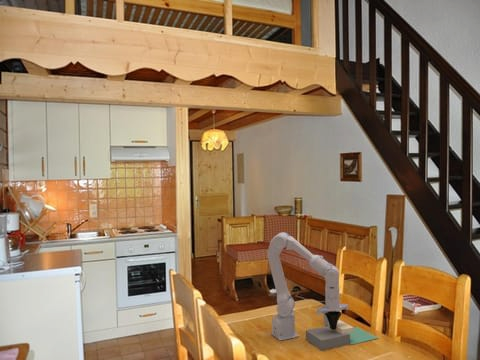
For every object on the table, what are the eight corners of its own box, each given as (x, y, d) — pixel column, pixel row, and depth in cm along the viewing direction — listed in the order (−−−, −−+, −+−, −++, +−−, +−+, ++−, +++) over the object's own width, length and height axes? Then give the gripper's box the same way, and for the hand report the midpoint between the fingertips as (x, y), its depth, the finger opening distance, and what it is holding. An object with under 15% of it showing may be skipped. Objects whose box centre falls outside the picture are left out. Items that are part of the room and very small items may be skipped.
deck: (321, 350, 144) (321, 340, 144) (305, 339, 154) (305, 330, 154) (350, 344, 150) (349, 334, 150) (333, 333, 160) (332, 324, 160)
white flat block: (341, 334, 149) (341, 329, 149) (328, 326, 158) (328, 322, 158) (353, 332, 152) (353, 327, 152) (339, 324, 160) (339, 320, 160)
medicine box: (332, 326, 168) (332, 307, 168) (323, 324, 170) (322, 306, 171) (339, 321, 174) (338, 303, 174) (330, 319, 177) (329, 301, 177)
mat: (351, 345, 149) (351, 344, 149) (331, 333, 161) (331, 332, 161) (378, 338, 154) (378, 338, 154) (357, 327, 166) (357, 327, 166)
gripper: (323, 301, 147) (324, 335, 147) (352, 296, 152) (353, 329, 152) (313, 296, 153) (314, 329, 153) (341, 291, 159) (342, 323, 159)
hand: (333, 328), depth 153 cm, fingers closed
